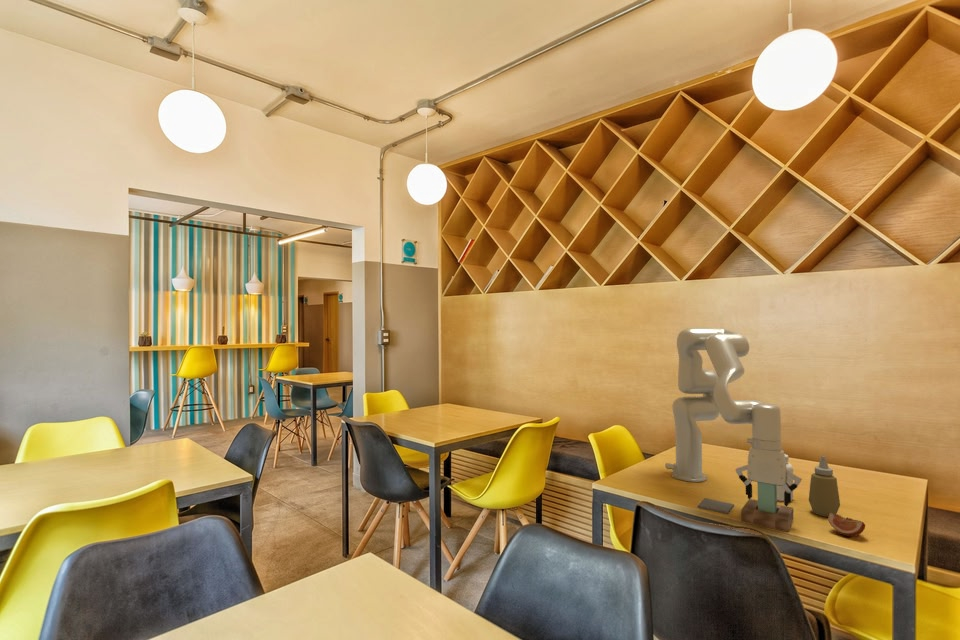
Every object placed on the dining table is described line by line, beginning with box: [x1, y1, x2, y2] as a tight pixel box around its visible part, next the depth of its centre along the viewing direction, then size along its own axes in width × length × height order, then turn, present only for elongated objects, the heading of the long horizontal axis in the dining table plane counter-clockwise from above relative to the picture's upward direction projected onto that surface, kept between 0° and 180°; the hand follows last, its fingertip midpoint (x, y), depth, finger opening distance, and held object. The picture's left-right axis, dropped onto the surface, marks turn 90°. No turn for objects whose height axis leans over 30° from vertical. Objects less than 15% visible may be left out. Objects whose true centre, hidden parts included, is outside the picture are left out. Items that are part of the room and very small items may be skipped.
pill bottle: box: [777, 453, 794, 502], centre depth 164 cm, size 8×8×15 cm
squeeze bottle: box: [808, 455, 841, 518], centre depth 149 cm, size 8×8×18 cm
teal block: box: [756, 482, 778, 514], centre depth 144 cm, size 4×4×12 cm
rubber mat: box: [696, 497, 735, 515], centre depth 155 cm, size 9×9×1 cm
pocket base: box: [740, 498, 794, 533], centre depth 144 cm, size 12×12×4 cm
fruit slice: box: [827, 513, 866, 537], centre depth 135 cm, size 8×7×5 cm
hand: (767, 501), depth 144 cm, fingers open, 9 cm apart
